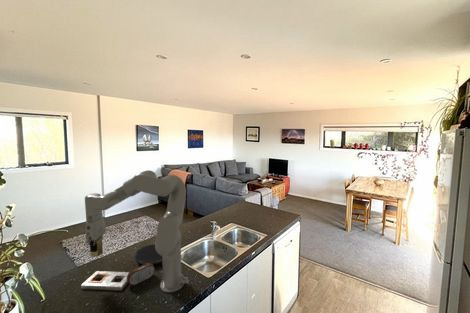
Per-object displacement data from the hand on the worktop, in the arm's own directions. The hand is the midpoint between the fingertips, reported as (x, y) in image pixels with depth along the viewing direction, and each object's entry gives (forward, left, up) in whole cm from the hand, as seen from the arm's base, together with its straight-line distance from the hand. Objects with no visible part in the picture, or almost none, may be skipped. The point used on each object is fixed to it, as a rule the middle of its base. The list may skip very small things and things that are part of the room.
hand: (96, 248), depth 121 cm
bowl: (-21, -23, -19) cm, 36 cm away
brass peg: (0, 0, -3) cm, 3 cm away
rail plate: (-6, 0, -19) cm, 20 cm away
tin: (-24, -2, -19) cm, 31 cm away
